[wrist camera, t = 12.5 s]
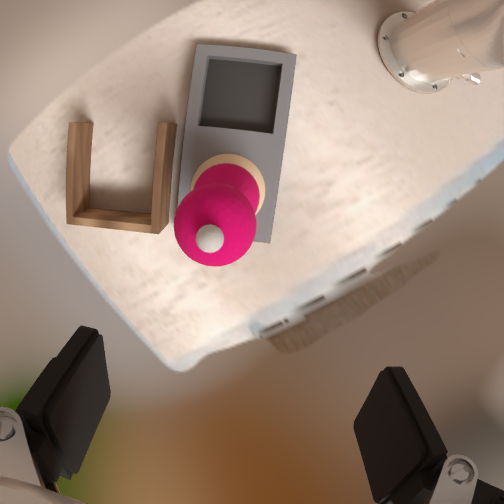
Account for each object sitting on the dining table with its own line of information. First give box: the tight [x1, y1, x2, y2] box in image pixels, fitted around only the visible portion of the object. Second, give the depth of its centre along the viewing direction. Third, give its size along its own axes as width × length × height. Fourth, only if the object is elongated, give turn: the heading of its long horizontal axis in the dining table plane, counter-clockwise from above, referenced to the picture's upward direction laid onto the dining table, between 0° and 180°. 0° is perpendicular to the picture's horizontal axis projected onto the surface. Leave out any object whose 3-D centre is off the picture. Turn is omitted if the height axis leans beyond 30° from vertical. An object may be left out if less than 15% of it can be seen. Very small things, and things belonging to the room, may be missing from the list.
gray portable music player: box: [178, 44, 297, 243], centre depth 37 cm, size 12×24×2 cm, turn 173°
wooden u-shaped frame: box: [66, 122, 177, 234], centre depth 37 cm, size 13×13×5 cm
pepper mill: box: [174, 163, 260, 266], centre depth 29 cm, size 7×7×20 cm
